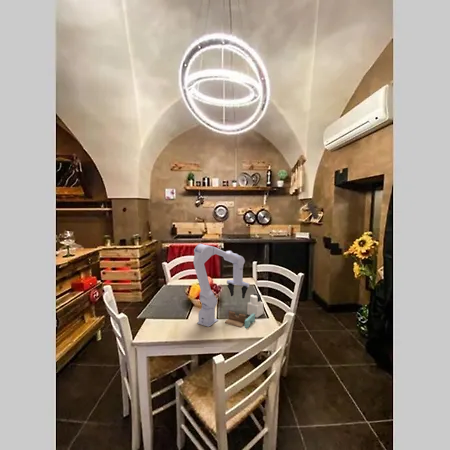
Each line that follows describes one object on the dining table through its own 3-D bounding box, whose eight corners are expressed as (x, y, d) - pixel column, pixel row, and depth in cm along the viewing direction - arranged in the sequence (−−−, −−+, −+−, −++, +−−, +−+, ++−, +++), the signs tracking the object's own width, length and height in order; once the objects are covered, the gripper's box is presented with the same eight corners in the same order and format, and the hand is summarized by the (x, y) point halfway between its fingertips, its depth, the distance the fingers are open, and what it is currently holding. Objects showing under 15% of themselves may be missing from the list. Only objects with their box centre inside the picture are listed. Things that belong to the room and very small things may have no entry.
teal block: (247, 328, 137) (247, 321, 136) (244, 327, 137) (244, 320, 137) (254, 320, 145) (254, 313, 145) (252, 320, 146) (252, 313, 146)
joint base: (241, 327, 137) (241, 318, 137) (224, 323, 142) (224, 314, 142) (248, 320, 146) (248, 312, 146) (233, 316, 151) (233, 308, 151)
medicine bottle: (253, 310, 159) (253, 291, 158) (263, 313, 154) (263, 294, 153) (247, 314, 153) (247, 295, 152) (257, 317, 149) (257, 297, 148)
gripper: (251, 274, 155) (251, 296, 156) (230, 271, 162) (230, 292, 163) (246, 277, 149) (246, 300, 150) (225, 274, 156) (224, 296, 157)
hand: (237, 296), depth 156 cm, fingers open, 7 cm apart
